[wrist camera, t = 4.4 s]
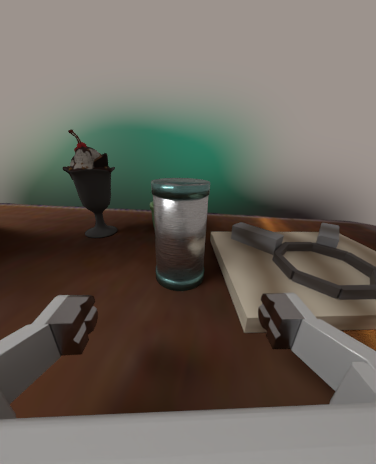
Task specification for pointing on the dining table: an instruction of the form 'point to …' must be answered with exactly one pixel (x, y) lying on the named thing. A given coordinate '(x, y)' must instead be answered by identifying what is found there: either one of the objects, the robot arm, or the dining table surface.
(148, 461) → the robot arm
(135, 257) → the dining table surface
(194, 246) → the teal-capped glass jar
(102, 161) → the sundae
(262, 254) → the board
